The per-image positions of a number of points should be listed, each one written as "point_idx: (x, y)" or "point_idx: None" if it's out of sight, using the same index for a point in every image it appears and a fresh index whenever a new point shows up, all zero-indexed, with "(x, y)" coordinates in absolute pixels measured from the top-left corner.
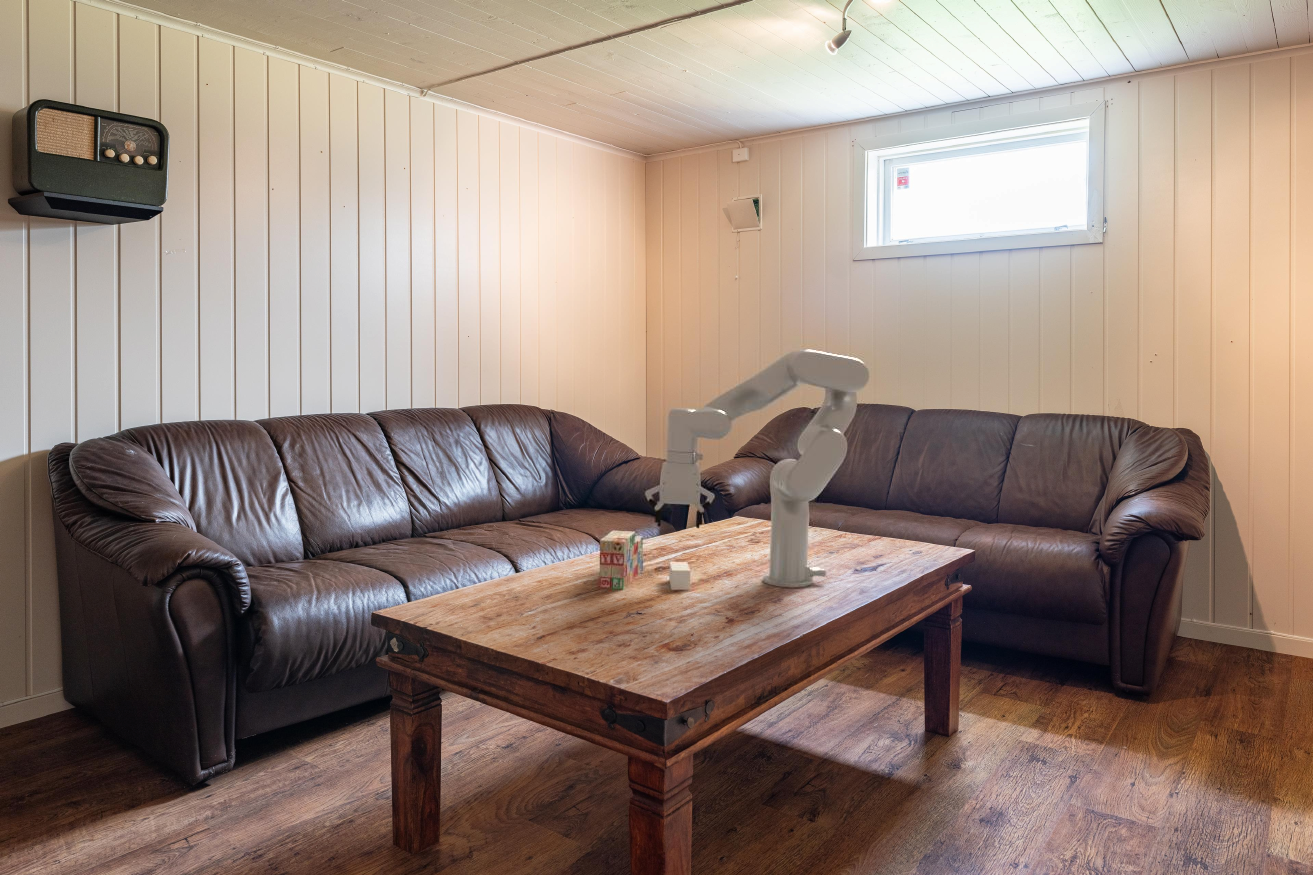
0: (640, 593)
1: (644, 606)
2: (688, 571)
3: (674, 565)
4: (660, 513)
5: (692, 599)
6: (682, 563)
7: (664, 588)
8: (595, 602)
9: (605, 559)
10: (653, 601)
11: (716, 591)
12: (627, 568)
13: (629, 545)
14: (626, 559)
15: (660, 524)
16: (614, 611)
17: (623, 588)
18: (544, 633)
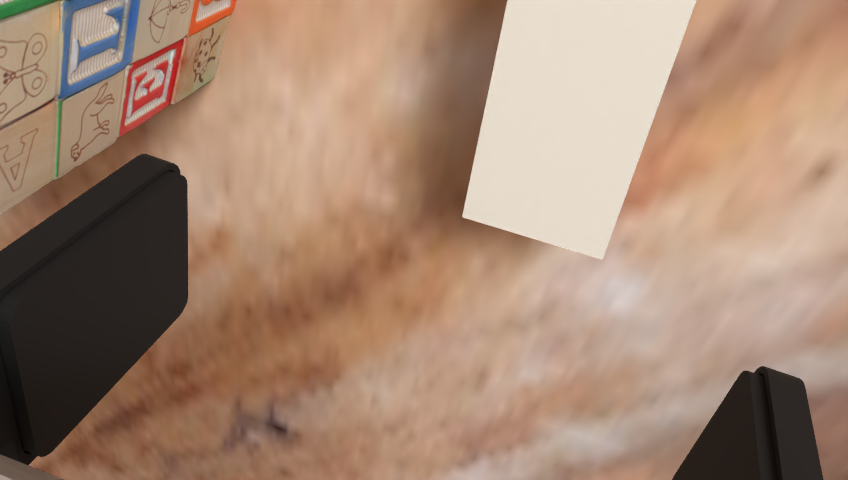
0: (303, 178)
1: (303, 367)
2: (589, 251)
3: (528, 72)
4: (57, 431)
5: (555, 356)
6: (633, 12)
7: (460, 113)
8: None
9: None
10: (351, 320)
11: (786, 271)
12: (162, 38)
13: (39, 25)
14: (106, 84)
15: (172, 321)
16: (189, 378)
17: (211, 78)
18: None
